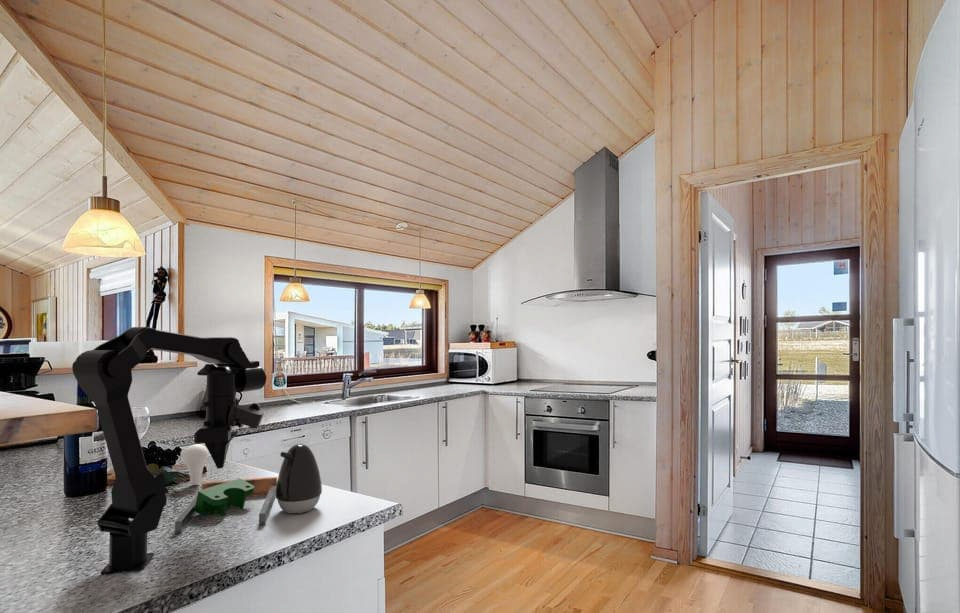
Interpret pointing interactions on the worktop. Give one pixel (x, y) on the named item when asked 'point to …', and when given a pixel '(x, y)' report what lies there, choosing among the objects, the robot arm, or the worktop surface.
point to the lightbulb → (195, 461)
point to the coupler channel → (260, 488)
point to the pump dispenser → (298, 480)
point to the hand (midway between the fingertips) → (220, 468)
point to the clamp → (223, 497)
